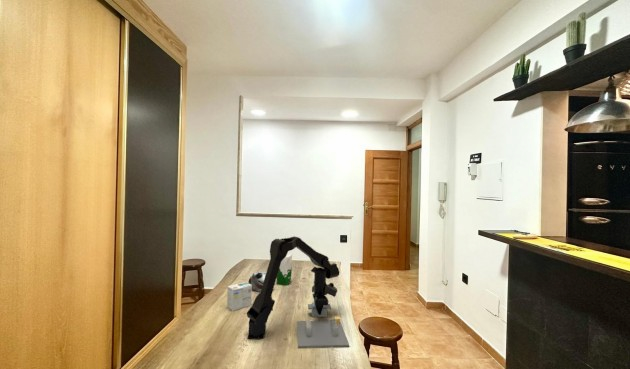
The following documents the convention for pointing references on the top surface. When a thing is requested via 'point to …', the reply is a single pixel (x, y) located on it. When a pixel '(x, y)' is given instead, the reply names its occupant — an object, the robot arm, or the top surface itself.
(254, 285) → the lucky cat figurine
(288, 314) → the top surface
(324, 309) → the servo block
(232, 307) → the light bulb box
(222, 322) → the top surface
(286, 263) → the milk carton
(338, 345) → the plate
